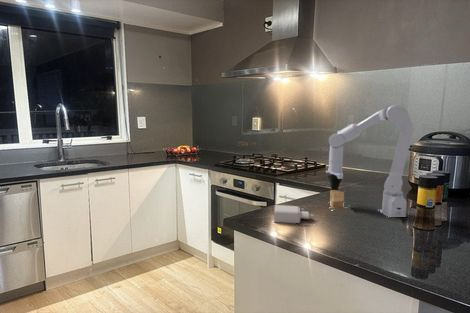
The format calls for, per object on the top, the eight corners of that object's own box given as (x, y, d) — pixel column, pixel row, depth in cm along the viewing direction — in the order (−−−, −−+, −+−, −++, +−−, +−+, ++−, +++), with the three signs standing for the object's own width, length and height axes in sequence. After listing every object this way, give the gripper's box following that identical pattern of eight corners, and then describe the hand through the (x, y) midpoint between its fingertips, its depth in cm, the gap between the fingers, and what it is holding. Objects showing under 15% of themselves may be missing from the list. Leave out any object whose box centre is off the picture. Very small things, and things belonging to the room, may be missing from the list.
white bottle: (314, 225, 120) (273, 223, 122) (312, 217, 129) (274, 215, 131) (315, 213, 119) (274, 211, 122) (313, 206, 128) (275, 204, 131)
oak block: (343, 208, 138) (344, 192, 138) (332, 208, 138) (333, 192, 137) (339, 205, 143) (340, 190, 142) (329, 205, 143) (330, 190, 142)
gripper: (322, 158, 149) (320, 187, 151) (331, 163, 135) (330, 195, 136) (337, 158, 149) (336, 187, 151) (348, 163, 135) (347, 195, 137)
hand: (334, 191), depth 144 cm, fingers closed
